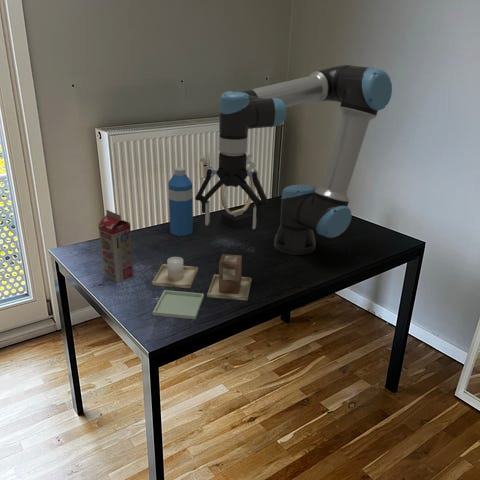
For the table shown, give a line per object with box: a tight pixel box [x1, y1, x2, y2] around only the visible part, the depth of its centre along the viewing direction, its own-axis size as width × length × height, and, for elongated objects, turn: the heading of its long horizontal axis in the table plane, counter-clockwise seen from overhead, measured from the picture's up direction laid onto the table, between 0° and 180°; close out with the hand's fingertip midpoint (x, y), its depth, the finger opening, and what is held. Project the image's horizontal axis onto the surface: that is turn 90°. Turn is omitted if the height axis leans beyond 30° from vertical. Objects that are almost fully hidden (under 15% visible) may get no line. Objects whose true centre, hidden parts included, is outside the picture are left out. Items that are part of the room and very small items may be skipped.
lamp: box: [220, 152, 256, 230], centre depth 188 cm, size 17×9×32 cm, turn 132°
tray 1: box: [151, 263, 199, 289], centre depth 151 cm, size 12×12×2 cm
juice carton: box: [98, 209, 135, 284], centre depth 147 cm, size 7×7×22 cm
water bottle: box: [167, 167, 194, 237], centre depth 181 cm, size 9×9×25 cm
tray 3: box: [206, 274, 253, 301], centre depth 146 cm, size 12×12×2 cm
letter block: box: [218, 253, 243, 294], centre depth 144 cm, size 6×6×10 cm
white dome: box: [166, 256, 184, 281], centre depth 150 cm, size 5×5×6 cm
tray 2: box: [152, 289, 205, 320], centre depth 136 cm, size 12×12×2 cm
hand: (230, 225), depth 137 cm, fingers open, 13 cm apart
